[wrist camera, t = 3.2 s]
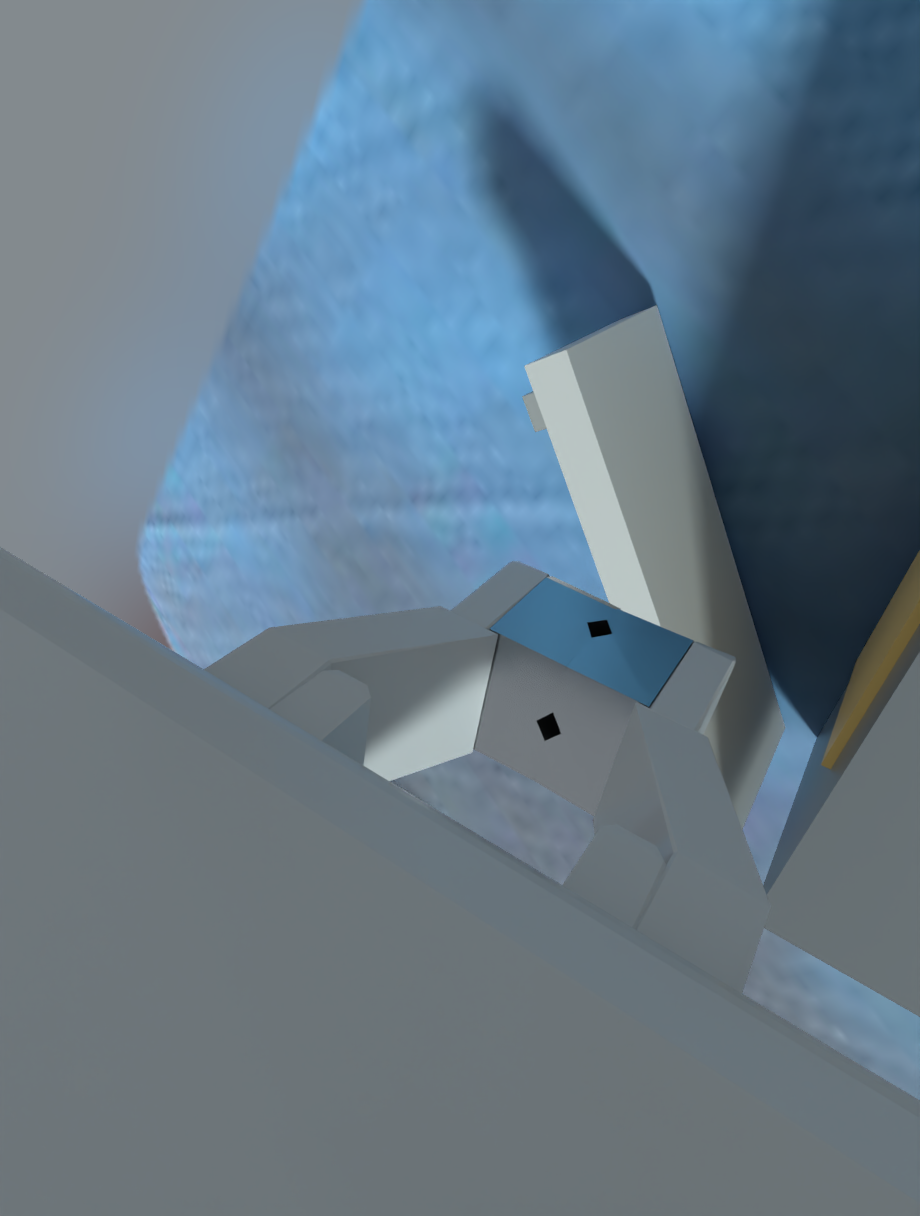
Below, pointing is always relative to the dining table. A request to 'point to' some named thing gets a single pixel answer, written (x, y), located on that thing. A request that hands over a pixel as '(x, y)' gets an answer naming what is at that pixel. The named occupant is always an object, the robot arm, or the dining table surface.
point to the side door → (657, 519)
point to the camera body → (862, 820)
